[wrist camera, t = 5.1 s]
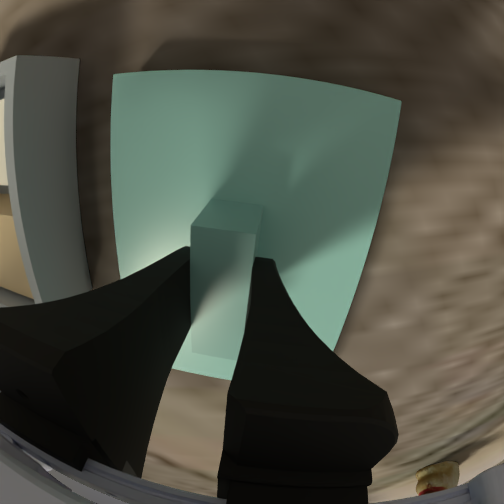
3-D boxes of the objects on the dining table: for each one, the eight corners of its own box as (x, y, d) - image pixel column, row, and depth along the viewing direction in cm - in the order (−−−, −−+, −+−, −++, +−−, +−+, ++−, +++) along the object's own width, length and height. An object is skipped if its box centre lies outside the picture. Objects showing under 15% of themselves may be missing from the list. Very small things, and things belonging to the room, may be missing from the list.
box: (92, 288, 15) (53, 333, 11) (7, 264, 15) (-29, 295, 12) (79, 58, 9) (16, 55, 6) (-12, 86, 10) (-62, 96, 6)
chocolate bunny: (453, 452, 21) (467, 524, 12) (459, 465, 24) (470, 525, 15) (409, 471, 23) (417, 543, 14) (422, 481, 26) (429, 541, 17)
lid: (315, 371, 16) (317, 428, 12) (144, 342, 16) (119, 391, 13) (388, 101, 9) (433, 101, 6) (131, 75, 10) (72, 71, 6)
